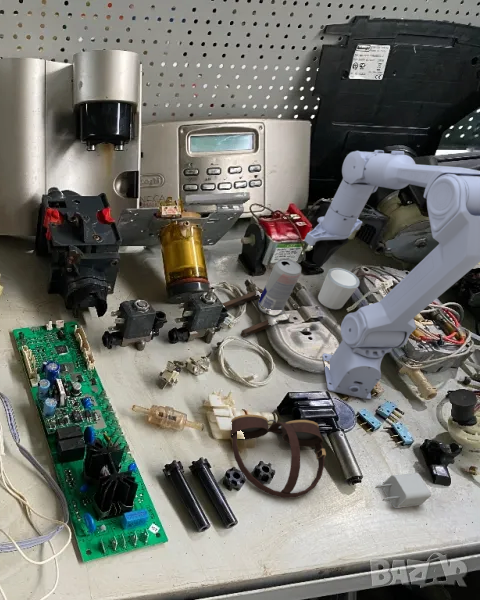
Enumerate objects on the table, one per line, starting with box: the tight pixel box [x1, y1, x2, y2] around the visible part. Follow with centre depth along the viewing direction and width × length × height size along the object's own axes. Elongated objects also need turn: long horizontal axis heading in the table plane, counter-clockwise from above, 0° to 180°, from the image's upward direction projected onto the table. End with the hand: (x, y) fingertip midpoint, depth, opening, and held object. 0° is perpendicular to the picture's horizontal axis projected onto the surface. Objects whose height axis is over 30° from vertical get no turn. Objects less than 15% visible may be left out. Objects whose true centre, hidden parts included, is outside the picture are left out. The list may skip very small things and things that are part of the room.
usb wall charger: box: [374, 472, 432, 509], centre depth 83 cm, size 4×7×4 cm, turn 99°
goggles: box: [229, 413, 327, 499], centre depth 84 cm, size 15×13×10 cm
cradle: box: [221, 288, 284, 339], centre depth 113 cm, size 13×9×2 cm
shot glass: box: [317, 267, 361, 310], centre depth 117 cm, size 7×7×7 cm
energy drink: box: [257, 258, 302, 315], centre depth 111 cm, size 5×5×12 cm
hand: (317, 262), depth 113 cm, fingers closed
